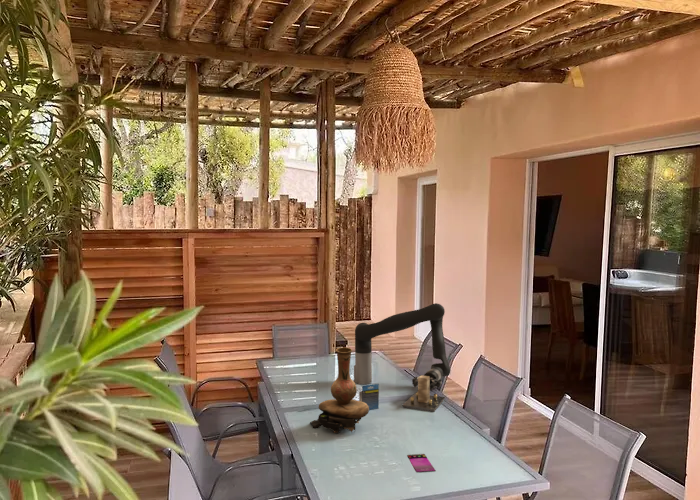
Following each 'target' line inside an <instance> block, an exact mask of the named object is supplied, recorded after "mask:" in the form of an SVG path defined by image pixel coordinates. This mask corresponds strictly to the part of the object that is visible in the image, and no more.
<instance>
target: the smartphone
mask: <svg viewBox="0 0 700 500" xmlns="http://www.w3.org/2000/svg"><path fill="white" fill-rule="evenodd" d="M406 456H407V459H408V460H409V462H410V464H411V465H412V467H413V470H414V471H415V472H416V473H427V472H428V473H430V472H431V473H432V472H436V469H435V467H434V466H433V464H432V463H431V461H430V460H429V458H428V457H427V455H426V454H425V453H417V454H416V453H415V454H414V453H413V454H407V455H406Z"/></svg>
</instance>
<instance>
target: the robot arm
mask: <svg viewBox="0 0 700 500" xmlns="http://www.w3.org/2000/svg"><path fill="white" fill-rule="evenodd" d="M445 312H446V311H445V307H444V306H443V305H442V304H441V303H438V302H437V303H432V304H430V305H428V306H424V307H422V308H418V309H414V310H410V311H405V312H400V313H396V314H393V315H390V316H387V317H386V318H383V319H382V320H380V321H378V322H373V323H367V322H360V323H358V324H357V325H356V326H355V329H354V354H355V355H354V359H355V360H354V362H355V363H354V365H353V381H354V383H355V384H359V385H370V384H372V382H373V381H372V379H373V378H372V377H373V374H372V371H373V369H372V368H373V367H372V366H373V365H372V364H373V363H372V357H373V356H372V350H373V349H372V339H374V338H376V337H379V336H382V335H387V334H391V333H396V332H400V331H403V330H406V329H410V328H412V327H415V326H417V325H419V324H421V323H424V322H429V323H430V324H429V325H430V329H431V344H432V345H431V348H432V349H431V350H432V357H433V359H435V360H440V361H441V362H440V363H439V362H438V363H437V362H436V363H433V364H431V367H430V369H429V370H428V371H426V372H425V373H424V374H423V376H430V390H433V389H434V388H437V389H438V388H441V387H442V385H443V383H442V382H443V380H442V378H443V377H448V376H450V374H451V367H450V363H449V361H448V359H447V358H448V357H447V353H446V342H445V336H444V331H443V321H444V320H443V319H444V316H445ZM418 377H419V376H414V378H412V381H411V382H412V385H413V387H414V388H417V387H418Z"/></svg>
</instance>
